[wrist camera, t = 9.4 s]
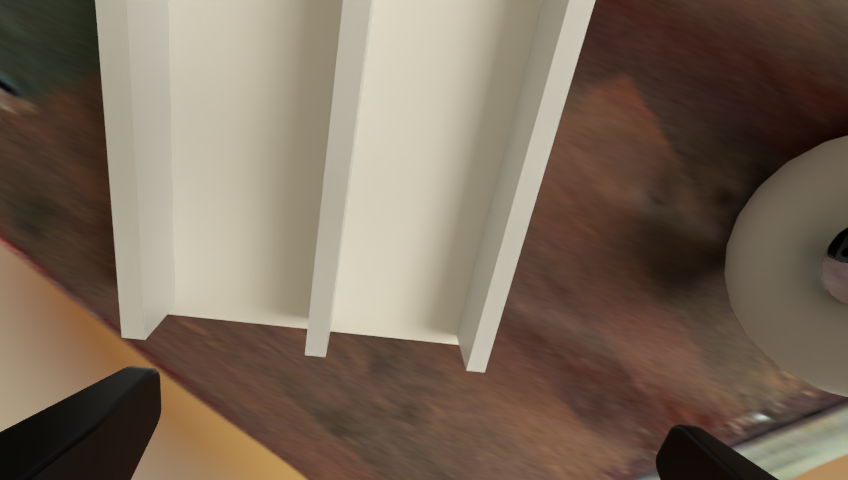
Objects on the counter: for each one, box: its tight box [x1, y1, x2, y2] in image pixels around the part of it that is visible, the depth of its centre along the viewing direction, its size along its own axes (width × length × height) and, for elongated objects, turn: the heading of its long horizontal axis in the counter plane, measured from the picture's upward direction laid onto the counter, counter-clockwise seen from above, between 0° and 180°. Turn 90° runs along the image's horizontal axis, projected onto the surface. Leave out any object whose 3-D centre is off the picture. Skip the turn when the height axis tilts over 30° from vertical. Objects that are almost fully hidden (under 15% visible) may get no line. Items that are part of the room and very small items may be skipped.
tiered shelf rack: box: [95, 0, 595, 372], centre depth 15 cm, size 14×17×4 cm
